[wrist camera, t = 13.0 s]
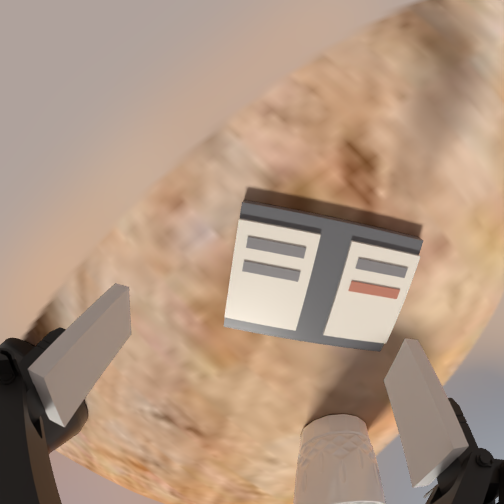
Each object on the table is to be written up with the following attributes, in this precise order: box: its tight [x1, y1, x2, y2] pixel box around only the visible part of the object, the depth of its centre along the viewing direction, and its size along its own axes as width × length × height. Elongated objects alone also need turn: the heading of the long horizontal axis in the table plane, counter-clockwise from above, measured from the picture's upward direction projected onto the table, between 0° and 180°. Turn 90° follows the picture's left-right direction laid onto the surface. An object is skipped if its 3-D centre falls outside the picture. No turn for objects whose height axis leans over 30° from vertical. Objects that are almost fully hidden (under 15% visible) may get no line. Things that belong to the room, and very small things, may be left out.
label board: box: [224, 200, 423, 351], centre depth 20 cm, size 12×9×1 cm
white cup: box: [293, 414, 386, 504], centre depth 21 cm, size 8×8×10 cm
